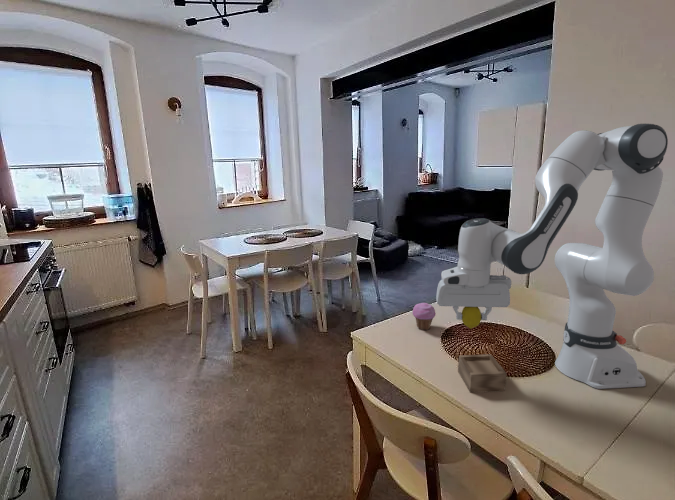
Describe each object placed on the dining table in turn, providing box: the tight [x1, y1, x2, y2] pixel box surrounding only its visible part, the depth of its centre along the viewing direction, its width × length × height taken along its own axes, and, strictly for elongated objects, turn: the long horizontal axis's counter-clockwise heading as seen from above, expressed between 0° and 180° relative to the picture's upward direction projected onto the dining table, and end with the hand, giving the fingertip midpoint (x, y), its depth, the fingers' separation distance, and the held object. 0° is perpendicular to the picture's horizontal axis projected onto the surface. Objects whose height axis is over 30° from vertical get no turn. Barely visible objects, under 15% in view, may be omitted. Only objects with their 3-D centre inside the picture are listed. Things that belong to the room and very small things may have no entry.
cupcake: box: [412, 302, 437, 331], centre depth 139 cm, size 9×9×10 cm
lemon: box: [461, 307, 482, 329], centre depth 106 cm, size 6×6×8 cm
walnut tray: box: [457, 353, 507, 393], centre depth 106 cm, size 10×10×6 cm
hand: (471, 319), depth 106 cm, fingers closed on lemon, 5 cm apart
